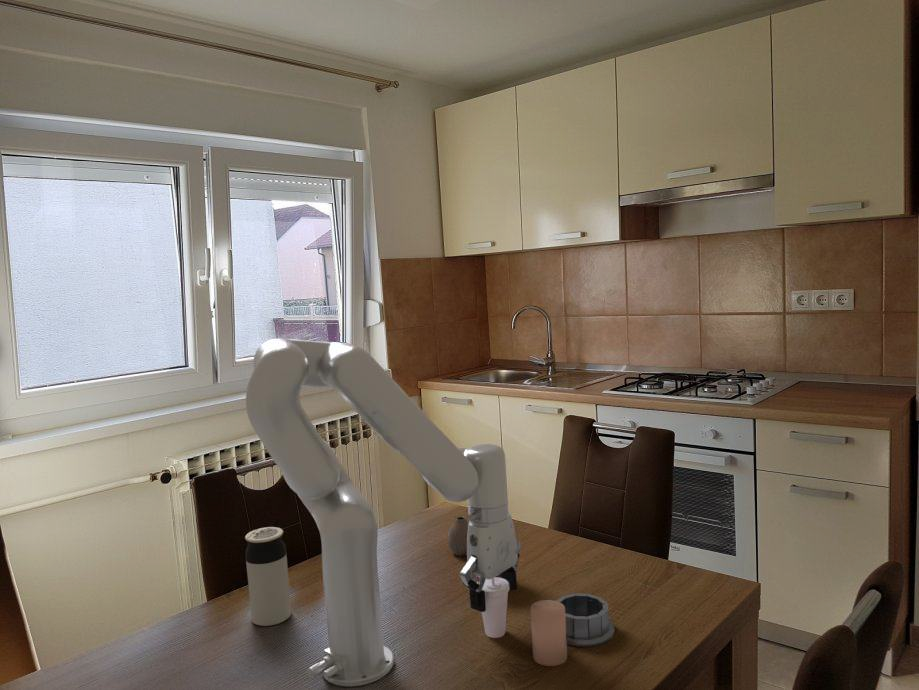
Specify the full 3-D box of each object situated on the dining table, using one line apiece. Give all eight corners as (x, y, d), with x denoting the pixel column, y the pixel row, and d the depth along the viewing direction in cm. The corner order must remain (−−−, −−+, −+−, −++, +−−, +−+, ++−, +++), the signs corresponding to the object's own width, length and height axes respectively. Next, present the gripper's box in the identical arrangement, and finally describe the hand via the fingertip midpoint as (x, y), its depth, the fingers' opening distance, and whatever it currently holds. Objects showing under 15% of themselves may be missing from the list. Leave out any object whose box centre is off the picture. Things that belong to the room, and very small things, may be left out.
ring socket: (594, 654, 124) (593, 628, 123) (537, 634, 131) (536, 610, 131) (626, 625, 133) (625, 601, 132) (571, 608, 140) (570, 585, 140)
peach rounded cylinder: (555, 670, 119) (552, 619, 119) (526, 659, 123) (523, 610, 122) (573, 654, 124) (571, 605, 123) (545, 644, 128) (542, 597, 127)
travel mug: (298, 609, 147) (291, 527, 145) (279, 628, 139) (271, 541, 138) (265, 607, 149) (257, 525, 147) (244, 625, 142) (235, 539, 140)
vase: (445, 550, 174) (443, 516, 173) (471, 545, 176) (469, 511, 175) (453, 560, 168) (451, 525, 167) (480, 555, 170) (478, 520, 169)
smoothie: (484, 644, 129) (479, 571, 128) (474, 628, 135) (470, 558, 134) (516, 637, 131) (513, 565, 129) (505, 621, 137) (501, 553, 135)
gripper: (474, 530, 122) (481, 624, 123) (531, 501, 135) (536, 586, 136) (442, 522, 126) (449, 612, 128) (500, 495, 139) (505, 577, 141)
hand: (494, 599), depth 132 cm, fingers open, 9 cm apart
